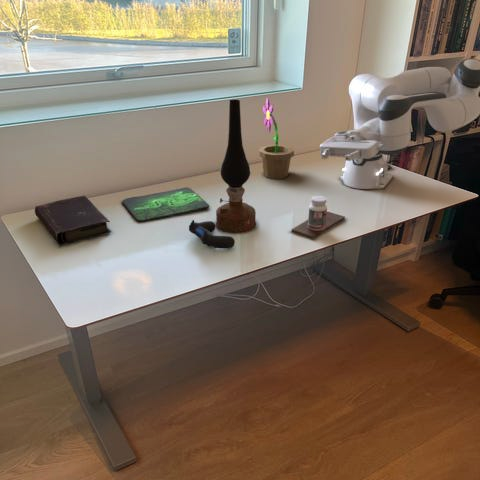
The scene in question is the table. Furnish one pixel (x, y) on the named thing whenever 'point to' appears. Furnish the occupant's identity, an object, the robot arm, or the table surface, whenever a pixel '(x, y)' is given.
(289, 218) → the table surface
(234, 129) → the oil lamp
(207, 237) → the gaming controller
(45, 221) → the diary
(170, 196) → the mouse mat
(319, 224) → the pill bottle
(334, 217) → the walnut board
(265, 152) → the flowerpot
